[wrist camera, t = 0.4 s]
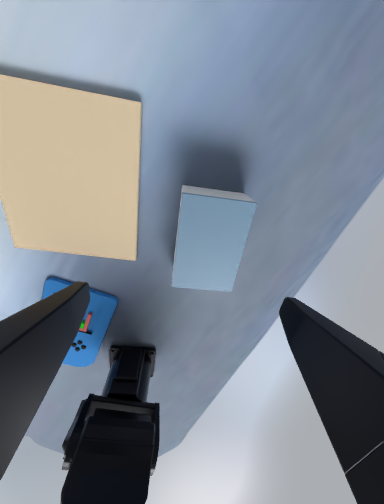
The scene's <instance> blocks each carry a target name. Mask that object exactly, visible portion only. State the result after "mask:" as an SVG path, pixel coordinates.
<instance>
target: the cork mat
mask: <svg viewBox="0 0 384 504" xmlns="http://www.w3.org/2000/svg"><path fill="white" fill-rule="evenodd" d="M141 119H142V103H141V102H137V101H132V100H127V99H122V98H117V97H112V96H107V95H101V94H96V93H91V92H86V91H81V90H76V89H71V88H66V87H61V86H56V85H51V84H46V83H41V82H36V81H31V80H26V79H21V78H16V77H11V76H6V75H1V74H0V197H1V201H2V204H3V208H4V211H5V215H6V218H7V222H8V225H9V229H10V232H11V236H12V239H13V243H14V246H15V247H17V248H26V249H35V250H44V251H53V252H61V253H70V254H79V255H88V256H97V257H106V258H115V259H123V260H132V261H136V259H137V235H138V206H139V177H140V148H141Z"/></svg>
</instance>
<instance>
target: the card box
mask: <svg viewBox="0 0 384 504" xmlns="http://www.w3.org/2000/svg"><path fill="white" fill-rule="evenodd" d="M256 205H257V203H256V202H255V201H253V200H252V199H251V198H250V197H248V196H247V195H246V194H244V193H238V192H230V191H223V190H216V189H208V188H201V187H194V186H187V185H182V192H181V201H180V209H179V218H178V227H177V236H176V245H175V254H174V263H173V275H172V287H179V288H191V289H203V290H215V291H227V292H231V291H232V288H233V284H234V281H235V277H236V274H237V270H238V267H239V264H240V260H241V257H242V253H243V250H244V246H245V243H246V240H247V236H248V233H249V229H250V226H251V222H252V219H253V216H254V212H255V209H256Z"/></svg>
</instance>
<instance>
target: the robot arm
mask: <svg viewBox="0 0 384 504" xmlns="http://www.w3.org/2000/svg"><path fill="white" fill-rule="evenodd" d="M89 303H90V291H89V284H88V283H87V282H76V283H74V284H72V285H70V286H68V287H66V288H64V289H62V290H60V291H58V292H56V293H54V294H52V295H50V296H48V297H46V298H44V299H42V300H41V301H39V302H37V303H35V304H33V305H31V306H29V307H27V308H25V309H23V310H21V311H19V312H17V313H15V314H13V315H11V316H9V317H8V318H6V319H4V320H2V321H0V480H1V478H2V477H3V475H4V473H5V471H6V469H7V467H8V465H9V463H10V461H11V459H12V458H13V456H14V454H15V452H16V450H17V448H18V446H19V444H20V442H21V440H22V438H23V437H24V435H25V433H26V431H27V429H28V427H29V425H30V423H31V421H32V420H33V418H34V416H35V414H36V412H37V410H38V408H39V406H40V404H41V402H42V401H43V399H44V397H45V395H46V393H47V391H48V389H49V387H50V385H51V383H52V381H53V380H54V378H55V376H56V374H57V372H58V370H59V368H60V366H61V364H62V362H63V361H64V359H65V357H66V355H67V353H68V351H69V349H70V347H71V345H72V343H73V341H74V340H75V338H76V335H77V333H78V331H79V328H80V326H81V323H82V321H83V318H84V316H85V313H86V310H87V308H88V305H89ZM279 315H280V318H281V322H282V324H283V328H284V331H285V334H286V337H287V340H288V343H289V346H290V348H291V351H292V353H293V355H294V358H295V360H296V362H297V364H298V367H299V369H300V371H301V374H302V376H303V379H304V381H305V383H306V386H307V388H308V390H309V392H310V395H311V397H312V399H313V402H314V404H315V406H316V409H317V411H318V413H319V416H320V418H321V420H322V423H323V425H324V427H325V430H326V432H327V434H328V436H329V439H330V441H331V443H332V446H333V448H334V450H335V453H336V455H337V457H338V460H339V462H340V464H341V467H342V469H343V471H344V473H345V476H346V479H347V481H348V483H349V485H350V488H351V490H352V492H353V495H354V497H355V499H356V502H357V504H384V354H383V353H382V352H380V351H378V350H377V349H376V348H374V347H372V346H371V345H369V344H367V343H366V342H364V341H363V340H361V339H360V338H358V337H356V336H355V335H353V334H352V333H350V332H348V331H347V330H345V329H344V328H342V327H340V326H339V325H337V324H336V323H334V322H333V321H331V320H329V319H328V318H326V317H325V316H323V315H321V314H320V313H318V312H317V311H315V310H313V309H312V308H310V307H309V306H307V305H305V304H304V303H302V302H301V301H299V300H297V299H296V298H291V297H286V298H285V299H284V301H283V303H282V305H281V308H280V310H279ZM155 354H156V350H155V349H153V348H139V347H124V346H111V347H110V349H109V356H110V371H109V374H108V377H107V380H106V383H105V386H104V389H103V392H102V395H101V396H98V395H94V394H91V393H90V394H89V397H88V399H86V400H82V402H81V404H80V407H79V409H78V412H77V414H76V417H75V419H74V421H73V423H72V425H71V427H70V429H69V431H68V433H67V436H66V438H65V440H64V442H63V445H62V448H63V451H64V457H63V459H64V463H63V466H62V470H69V471H68V474H67V477H66V480H65V483H64V486H63V488H62V492H61V503H60V504H145V502H146V500H147V496H148V485H149V479H150V476H152V475H153V472H154V470H155V466H156V462H157V457H158V450H159V403H147V402H146V401H147V394H148V386H149V379H150V377H153V372H154V363H155Z"/></svg>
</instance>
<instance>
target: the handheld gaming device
mask: <svg viewBox="0 0 384 504" xmlns="http://www.w3.org/2000/svg"><path fill="white" fill-rule="evenodd" d="M72 284H74V283H71V282H68V281H64V280H61V279H58V278H55V277H50V278H48V279H47V280H46V281H45V284H44V290H43V296H42V299H44V298H46V297H48V296H50V295H52V294H54V293H56V292H58V291H60V290H62V289H64V288H66V287H68V286H70V285H72ZM89 291H90V303H89V305H88V308H87V310H86V313H85V316H84V318H83V321H82V323H81V326H80V328H79V331H78V333H77V335H76V338H75V340H74V341H73V343H72V345H71V347H70V349H69V351H68V353H67V355H66V357H65V359H64V361H63V362H62V363H63V364H68V365H72V366H77V367H84V366H88V365H90V364H92V363H93V362H94V361H95V358H96V356H97V353H98V351H99V348H100V346H101V343H102V341H103V338H104V336H105V333H106V331H107V328H108V326H109V323H110V321H111V318H112V316H113V313H114V311H115V308H116V306H117V303H118V299H117V298H116V297H115V296H112V295H109V294H106V293H103V292H100V291H96V290H93V289H90V288H89Z"/></svg>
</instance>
